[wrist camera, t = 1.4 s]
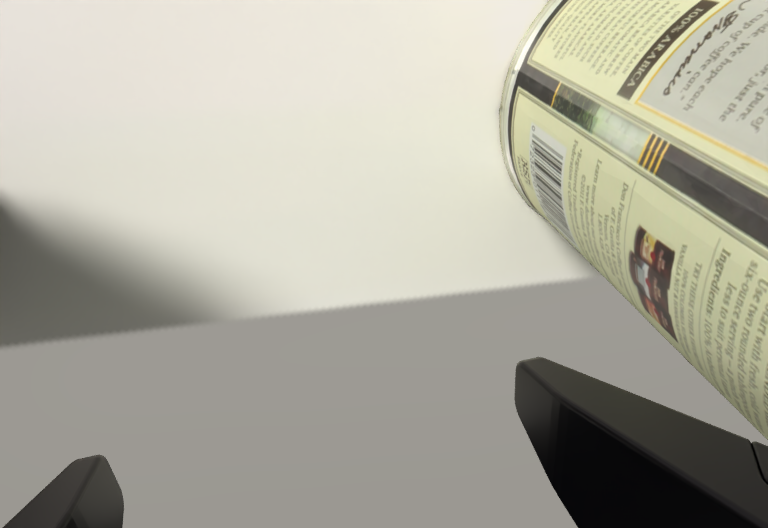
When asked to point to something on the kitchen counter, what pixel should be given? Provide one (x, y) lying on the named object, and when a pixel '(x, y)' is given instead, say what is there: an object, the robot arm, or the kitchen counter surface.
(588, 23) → the coffee can
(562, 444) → the robot arm
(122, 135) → the kitchen counter surface
